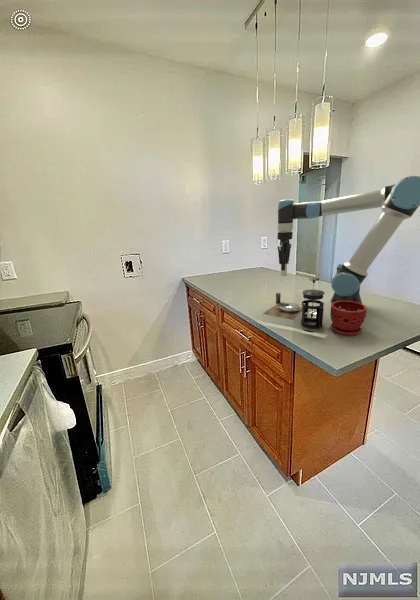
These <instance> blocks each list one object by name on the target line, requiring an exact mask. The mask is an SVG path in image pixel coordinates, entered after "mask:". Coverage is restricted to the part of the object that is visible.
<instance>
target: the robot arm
mask: <svg viewBox="0 0 420 600" xmlns="http://www.w3.org/2000/svg"><path fill="white" fill-rule="evenodd" d="M419 206H420V176H418V175H409V176H406V177H404V178H401V179H400V180H399V181H398V182H397V183H395V184H391V185H386V186H384V187H383V188H382V189H378V190H372V191H367V192H363V193H356V194H351V195H346V196H341V197H335V198H331V199H324V200H319V201H308V202H307V201H305V202H299V203H297V202H296V203H295V201H294V199H282V200H279V201H278V208H277V225H276V227H277V240H278V241H279V246H277V252H278V263H279V265H280V277H287V275H288V274H287V272H288V271H287V270H288V268H287V267H288V265H290V264H289V263H290V256H291V255H290V254H291V248H292V243H290V241H291V240H292V239H293V233H294V232H293V230H294V220H301V219H302V220H306V219H307V220H308V219H310V220H311V219H317V218H318V217H324V216H331V215H337V214H339V215H340V214H343V213H352V212H357V211H358V212H359V211H365V210H370V209H377V208H381V212H380V214H379V216H378V218H377V219H376V220H375V221H374V223H373V224H372V226H371V228H370V229H369V231H368V232H367V234H366V235H365V236H364V238H363V240H362V241H361V242H360V244H359V246H358V247H357V248H356V250H355V251H354V253H353V254H352V255H351V257H350V259H349V260H348V261H345V262H343V263H338V264H337V266H336V272H335V274H334V276H333V277H332V279H331V283H330V284H331V289H332V291H333V295H332V296H331V299H330V302H329V303H330V304H332V303H333V302H336V301H354V302H358V303H361V304H363V301H362V297H361V295H360V291H361V284H362V283H363V282H364V280H365V279H366V278H367V276H368V269H369V268H370V266H371V265H372V264H373V262H374V261H375V260H376V259H377V257H378V255H379V254H380V253H381V251H382V250H383V248H385V246H386V245H387V243H388V242H389V241H390V239H391V238H392V236H393V235H394V234H395V232H397V230H398V228H399V227H400V226H401V224H402V223H403V221H405V220H407V219H410V218H411V217H412V216H413V215H414V213H415V212H416V210H417V209H418V208H419ZM339 308H341V306H339ZM347 308H348V309H350V308H351V307H350V306H348V307H347ZM355 309H356V308H354V310H355ZM343 310H345V309H343ZM358 310H360V309H359V308H358Z"/></svg>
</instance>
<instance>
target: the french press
mask: <svg viewBox="0 0 420 600" xmlns="http://www.w3.org/2000/svg"><path fill="white" fill-rule="evenodd" d="M308 280H309V281H312V289H305V290H302V292H301V293H302V297H303V299H305V300H301V301H302V302H301V307H302V312H301V320H300V325H301V327H303V328H305V329H303V328H301V329H302V331H304V332H308V333H315V331H314V330H318V329H321V328H323V323H324V322H323V320H324V311H325V310H324V309H325V308H324V305H325V304H324V302H323V301H322V300H323V298H324V295H325V294H326V293H325V292H324V291H323V290H319V289H315V283H316V282H317V281H319V280H320V279H319V278H317V277H311V278H308ZM310 303H311V305H309V304H310ZM314 303H315V304H319V305H315V306H314ZM309 310H311V311H309ZM314 310H316V311H314ZM305 322H314V323H315V324H308V323H305ZM308 329H309V330H308ZM312 330H313V331H312Z"/></svg>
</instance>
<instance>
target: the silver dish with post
mask: <svg viewBox="0 0 420 600" xmlns="http://www.w3.org/2000/svg"><path fill="white" fill-rule="evenodd" d="M281 297H282V296H281V292H276V293H275V305H276V304H278V305H280V310H281V311H283V312H287V313H295V312H298V311H299V310H300V307H301V306H300V305H299V304H298V303H294V302H282V301H281Z"/></svg>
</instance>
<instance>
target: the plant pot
mask: <svg viewBox="0 0 420 600" xmlns="http://www.w3.org/2000/svg"><path fill="white" fill-rule="evenodd" d="M340 306H341V307H340ZM348 306H350V307H351V308H350V309H348V308H347V307H348ZM354 308H356V309H355V310H354ZM358 308H359V309H358ZM344 309H345V310H344ZM367 309H368V307H367V306H366V305H364V303H362V304H361V303H358V302H354V301H336V302H333V303H330V320H331V323H330V328H331V330H332V331H333V332H335V333H337V334H340V335H343V336H355V335H358V334H360V332H361V330H362V328H361V327H362V325H363V324H364V322H365V319H366V316H367Z"/></svg>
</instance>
